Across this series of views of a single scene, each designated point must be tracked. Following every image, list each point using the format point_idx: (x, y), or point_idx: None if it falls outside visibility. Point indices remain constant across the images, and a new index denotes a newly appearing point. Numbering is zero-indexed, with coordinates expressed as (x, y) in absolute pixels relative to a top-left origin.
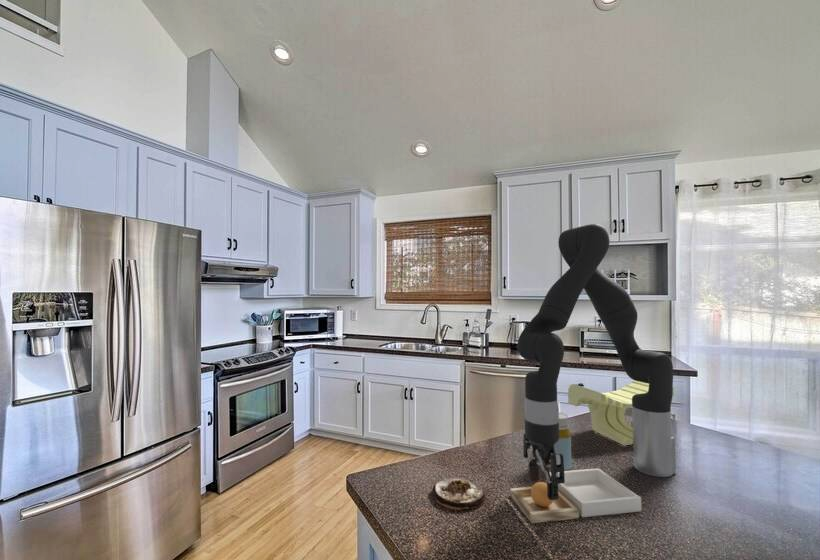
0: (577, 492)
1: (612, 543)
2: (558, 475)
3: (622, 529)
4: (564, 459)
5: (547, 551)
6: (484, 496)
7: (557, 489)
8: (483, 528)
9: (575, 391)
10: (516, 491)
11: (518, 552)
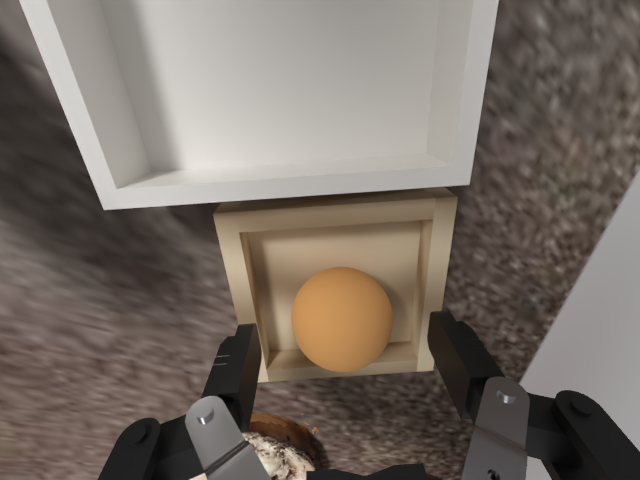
0: (222, 58)
1: (603, 131)
2: (526, 419)
3: (558, 4)
4: None
5: (533, 344)
6: (281, 435)
7: (489, 358)
8: (399, 437)
9: None
10: (275, 369)
11: None
